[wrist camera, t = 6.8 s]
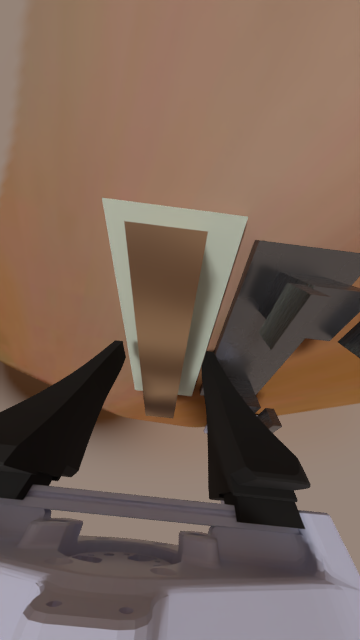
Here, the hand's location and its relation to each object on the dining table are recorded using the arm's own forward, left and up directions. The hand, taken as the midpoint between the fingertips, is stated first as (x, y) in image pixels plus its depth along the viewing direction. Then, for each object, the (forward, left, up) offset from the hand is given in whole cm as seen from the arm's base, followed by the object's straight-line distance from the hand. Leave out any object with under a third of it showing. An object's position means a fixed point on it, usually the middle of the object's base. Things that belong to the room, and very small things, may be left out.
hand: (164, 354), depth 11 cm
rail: (0, 0, -2) cm, 2 cm away
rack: (0, -8, -2) cm, 9 cm away
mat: (0, 0, -2) cm, 2 cm away
